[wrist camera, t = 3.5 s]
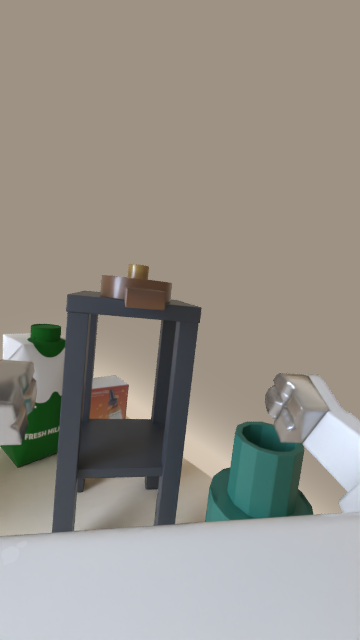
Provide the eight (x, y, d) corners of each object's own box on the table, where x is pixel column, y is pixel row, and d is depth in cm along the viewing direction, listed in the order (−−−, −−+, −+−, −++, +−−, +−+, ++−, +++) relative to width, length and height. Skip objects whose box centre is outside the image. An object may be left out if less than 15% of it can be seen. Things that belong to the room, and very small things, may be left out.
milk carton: (12, 473, 39) (20, 329, 37) (-9, 445, 45) (-4, 319, 43) (72, 451, 46) (82, 327, 44) (47, 428, 52) (54, 319, 50)
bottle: (181, 662, 21) (208, 447, 20) (205, 569, 29) (226, 407, 27) (292, 720, 19) (334, 482, 17) (287, 603, 26) (316, 428, 25)
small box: (78, 454, 46) (83, 389, 44) (67, 437, 50) (71, 378, 49) (124, 441, 50) (129, 383, 49) (110, 427, 55) (115, 374, 54)
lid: (198, 314, 19) (204, 261, 18) (87, 303, 17) (91, 246, 17) (164, 300, 33) (167, 271, 33) (102, 294, 32) (104, 263, 32)
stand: (172, 556, 30) (201, 307, 27) (48, 568, 27) (67, 294, 25) (157, 479, 42) (177, 300, 39) (69, 482, 39) (84, 290, 36)
